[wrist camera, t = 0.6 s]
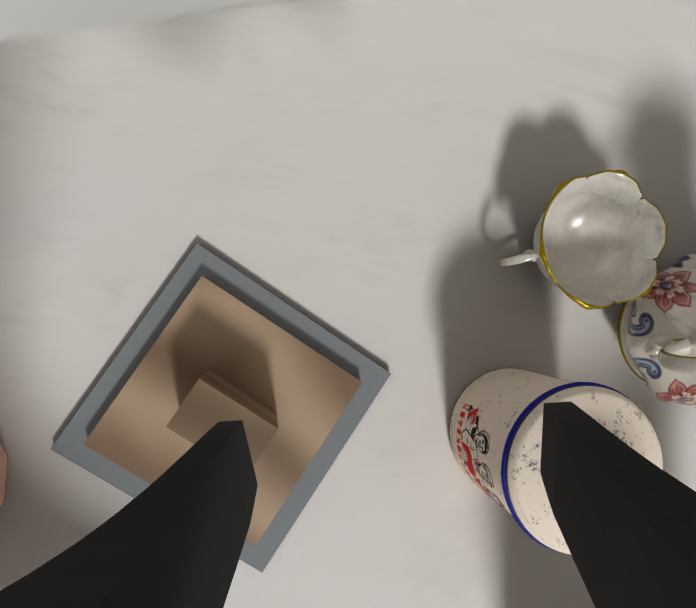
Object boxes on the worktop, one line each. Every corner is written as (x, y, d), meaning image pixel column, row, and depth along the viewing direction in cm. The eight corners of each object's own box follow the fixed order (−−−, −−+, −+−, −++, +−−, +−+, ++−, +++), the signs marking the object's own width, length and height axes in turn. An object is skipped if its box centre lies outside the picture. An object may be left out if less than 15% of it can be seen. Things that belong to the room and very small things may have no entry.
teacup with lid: (424, 395, 34) (506, 442, 22) (538, 343, 35) (671, 362, 23) (487, 553, 34) (598, 678, 23) (597, 496, 36) (754, 587, 24)
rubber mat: (262, 568, 32) (262, 572, 31) (54, 446, 30) (50, 448, 29) (389, 372, 33) (390, 373, 33) (198, 244, 31) (197, 243, 31)
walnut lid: (255, 540, 31) (253, 581, 26) (87, 440, 30) (53, 466, 25) (360, 380, 32) (375, 393, 28) (203, 276, 31) (191, 271, 26)
